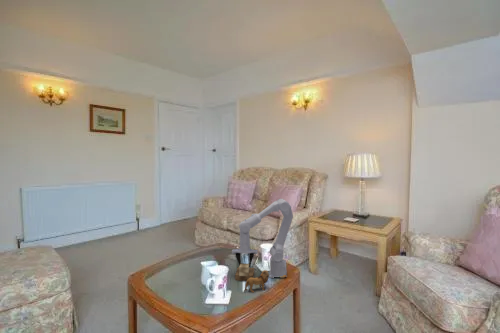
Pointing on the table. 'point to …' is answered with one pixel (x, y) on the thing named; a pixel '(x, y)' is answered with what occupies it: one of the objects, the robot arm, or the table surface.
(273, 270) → the robot arm
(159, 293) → the table surface
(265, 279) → the lion figurine
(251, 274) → the walnut block
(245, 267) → the maple cube
